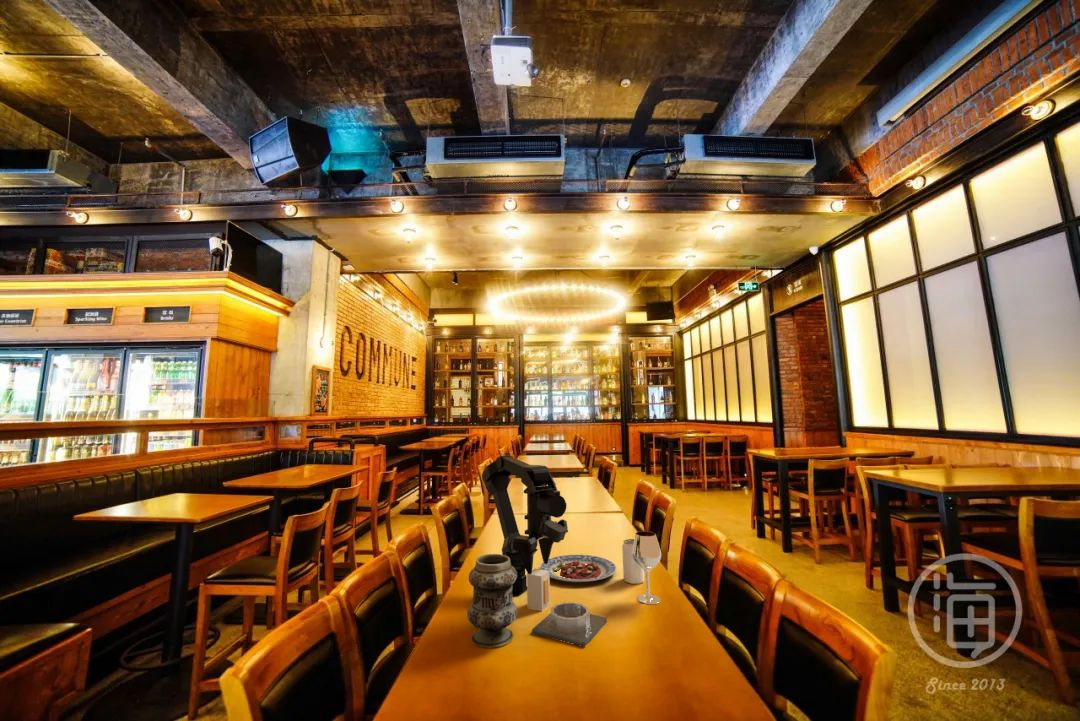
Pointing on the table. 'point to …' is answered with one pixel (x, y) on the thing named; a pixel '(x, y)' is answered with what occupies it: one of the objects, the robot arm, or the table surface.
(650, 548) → the wineglass
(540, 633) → the duct collar
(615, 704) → the table surface
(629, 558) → the can
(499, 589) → the apothecary jar
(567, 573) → the ceramic plate
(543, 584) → the white block
